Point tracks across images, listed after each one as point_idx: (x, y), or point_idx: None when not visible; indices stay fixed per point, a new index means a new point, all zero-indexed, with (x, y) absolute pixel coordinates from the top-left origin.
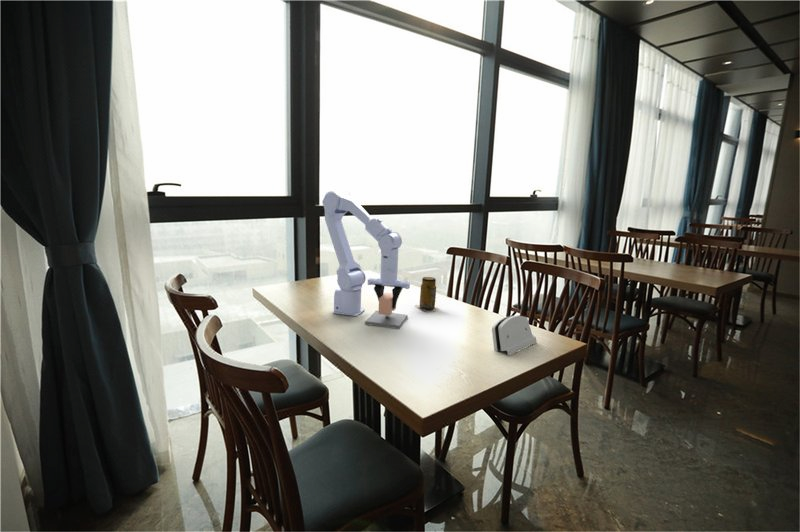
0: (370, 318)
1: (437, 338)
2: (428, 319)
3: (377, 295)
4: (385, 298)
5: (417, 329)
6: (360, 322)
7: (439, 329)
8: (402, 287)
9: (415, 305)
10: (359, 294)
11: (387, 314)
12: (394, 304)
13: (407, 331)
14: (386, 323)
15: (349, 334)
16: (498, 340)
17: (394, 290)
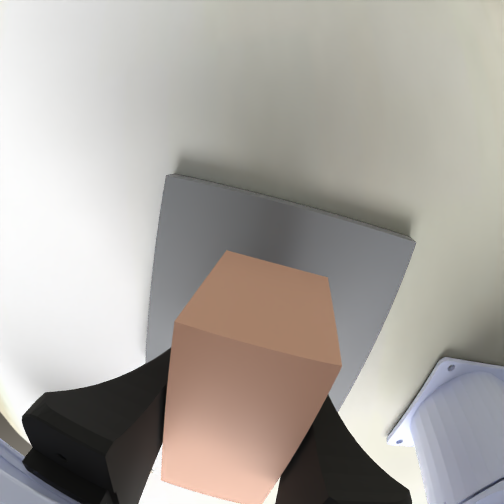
0: (377, 301)
1: (17, 90)
2: (62, 333)
3: (352, 442)
4: (248, 371)
5: (81, 183)
6: (434, 264)
7: (10, 205)
8: (20, 459)
9: (150, 472)
10: (452, 481)
11: (246, 257)
12: (170, 348)
13: (126, 137)
14: (259, 208)
15: (475, 56)
16: None
17: (79, 429)
